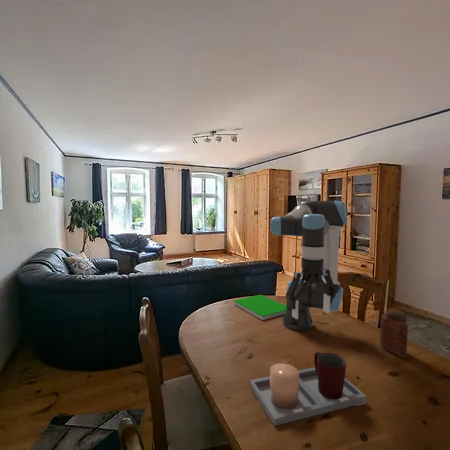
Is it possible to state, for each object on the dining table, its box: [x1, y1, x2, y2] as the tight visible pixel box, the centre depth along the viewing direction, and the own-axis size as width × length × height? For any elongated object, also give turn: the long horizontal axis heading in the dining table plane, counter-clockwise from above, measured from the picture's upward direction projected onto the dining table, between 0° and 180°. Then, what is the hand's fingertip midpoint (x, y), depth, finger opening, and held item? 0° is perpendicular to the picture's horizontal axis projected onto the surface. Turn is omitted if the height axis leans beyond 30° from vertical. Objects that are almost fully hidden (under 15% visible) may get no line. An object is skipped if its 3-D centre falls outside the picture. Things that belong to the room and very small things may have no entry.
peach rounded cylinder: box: [269, 362, 299, 409], centre depth 89 cm, size 9×9×9 cm
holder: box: [249, 366, 367, 427], centre depth 92 cm, size 32×18×3 cm, turn 108°
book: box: [233, 294, 287, 321], centre depth 168 cm, size 22×28×3 cm
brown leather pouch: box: [379, 309, 409, 359], centre depth 119 cm, size 12×6×18 cm, turn 28°
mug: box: [313, 351, 347, 399], centre depth 94 cm, size 12×9×11 cm
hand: (311, 314), depth 102 cm, fingers open, 13 cm apart
